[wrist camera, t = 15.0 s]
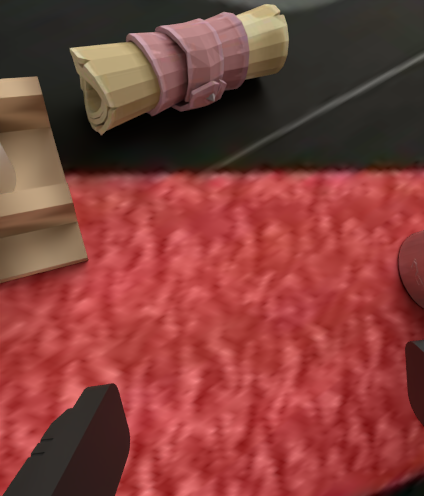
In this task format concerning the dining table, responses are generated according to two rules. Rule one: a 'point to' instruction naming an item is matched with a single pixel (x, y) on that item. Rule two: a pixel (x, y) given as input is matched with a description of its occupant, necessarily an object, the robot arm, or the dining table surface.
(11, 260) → the stand
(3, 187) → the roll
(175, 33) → the scroll
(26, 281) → the dining table surface
